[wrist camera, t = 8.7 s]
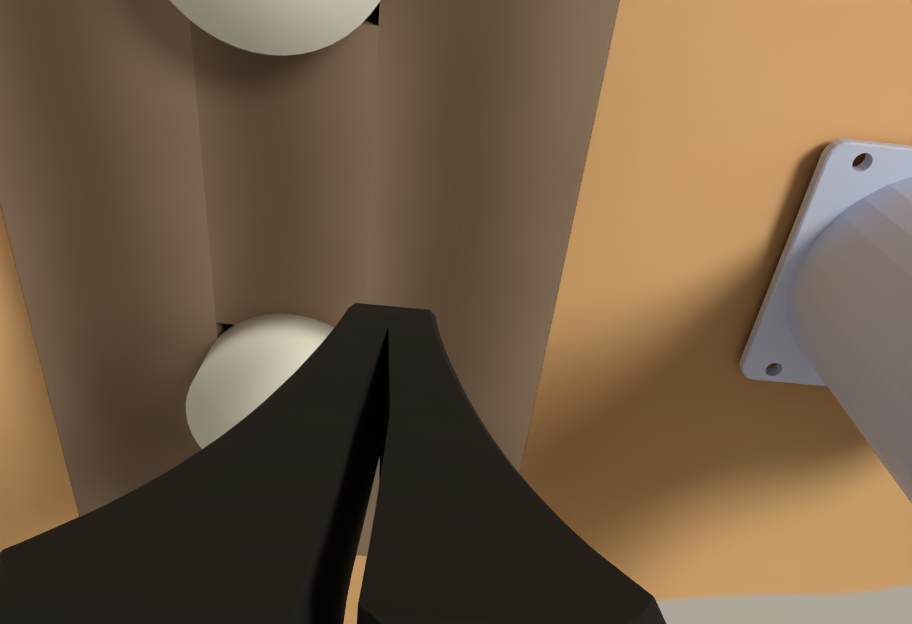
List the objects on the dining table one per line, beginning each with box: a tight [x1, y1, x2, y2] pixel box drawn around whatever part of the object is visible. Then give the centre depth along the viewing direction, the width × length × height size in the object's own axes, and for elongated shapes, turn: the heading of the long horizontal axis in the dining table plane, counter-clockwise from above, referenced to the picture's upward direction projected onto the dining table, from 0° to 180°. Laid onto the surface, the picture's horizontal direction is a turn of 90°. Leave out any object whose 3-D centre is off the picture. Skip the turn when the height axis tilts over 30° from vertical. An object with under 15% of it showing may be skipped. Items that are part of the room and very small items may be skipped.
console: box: [0, 0, 620, 556], centre depth 18 cm, size 14×26×3 cm, turn 174°
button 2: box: [186, 314, 334, 449], centre depth 21 cm, size 5×5×4 cm
